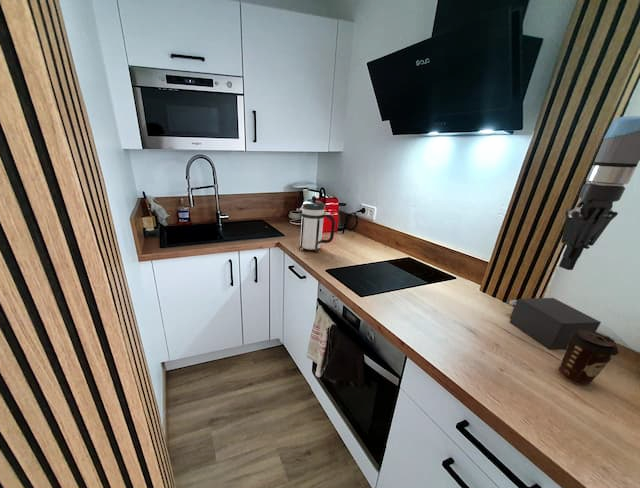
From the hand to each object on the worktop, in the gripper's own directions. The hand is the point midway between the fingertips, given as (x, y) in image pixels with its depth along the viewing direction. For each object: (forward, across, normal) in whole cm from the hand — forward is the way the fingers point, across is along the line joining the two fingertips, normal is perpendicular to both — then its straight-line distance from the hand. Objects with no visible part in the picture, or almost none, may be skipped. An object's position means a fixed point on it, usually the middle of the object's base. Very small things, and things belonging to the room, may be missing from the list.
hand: (565, 267), depth 83 cm
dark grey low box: (+24, -5, -1) cm, 25 cm away
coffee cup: (+25, +5, +17) cm, 31 cm away
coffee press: (+25, +57, -84) cm, 105 cm away
